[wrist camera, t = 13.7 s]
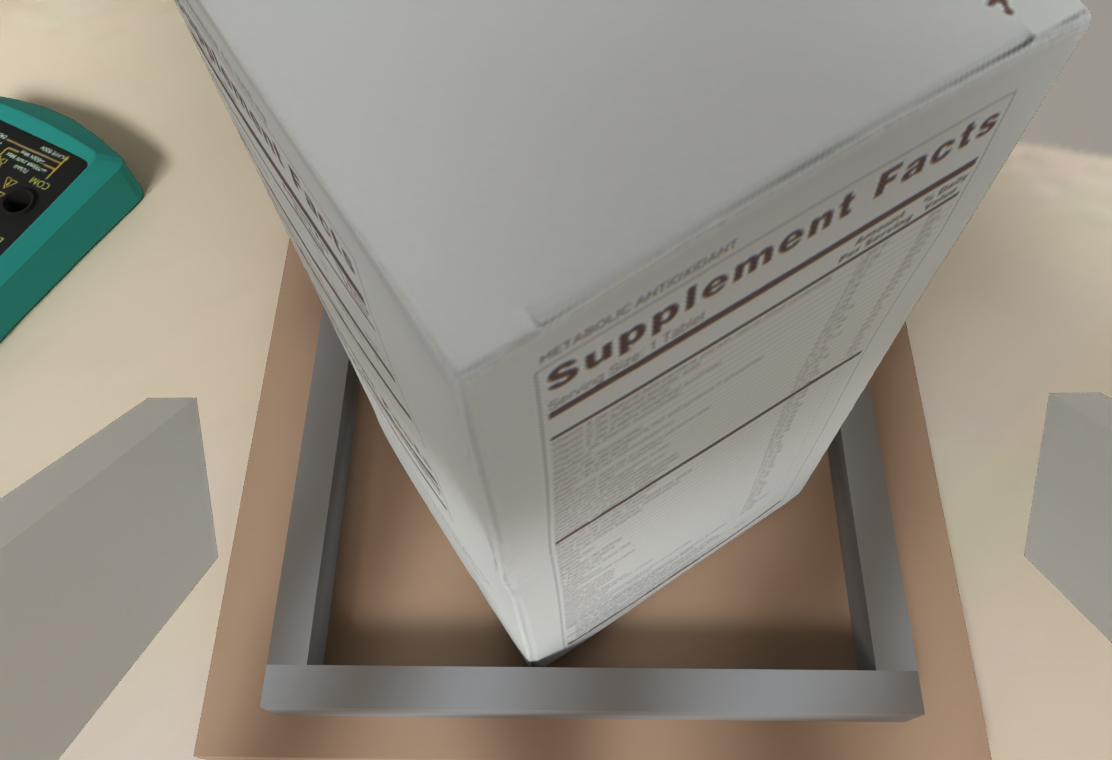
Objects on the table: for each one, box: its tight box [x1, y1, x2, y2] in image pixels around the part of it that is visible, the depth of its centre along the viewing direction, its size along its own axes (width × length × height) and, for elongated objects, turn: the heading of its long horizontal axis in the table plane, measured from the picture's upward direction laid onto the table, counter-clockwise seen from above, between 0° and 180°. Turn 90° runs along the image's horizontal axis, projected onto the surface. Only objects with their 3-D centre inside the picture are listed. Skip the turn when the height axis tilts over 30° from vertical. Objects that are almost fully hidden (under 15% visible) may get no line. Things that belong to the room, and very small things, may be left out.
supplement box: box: [175, 0, 1092, 667], centre depth 19 cm, size 10×9×17 cm
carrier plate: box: [194, 239, 992, 760], centre depth 26 cm, size 20×18×2 cm
